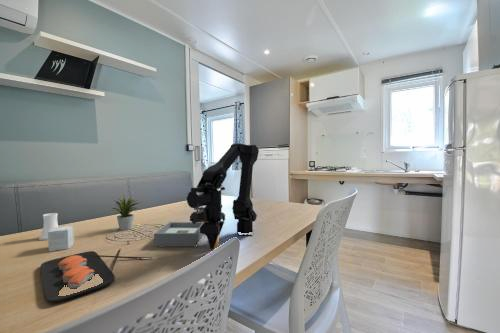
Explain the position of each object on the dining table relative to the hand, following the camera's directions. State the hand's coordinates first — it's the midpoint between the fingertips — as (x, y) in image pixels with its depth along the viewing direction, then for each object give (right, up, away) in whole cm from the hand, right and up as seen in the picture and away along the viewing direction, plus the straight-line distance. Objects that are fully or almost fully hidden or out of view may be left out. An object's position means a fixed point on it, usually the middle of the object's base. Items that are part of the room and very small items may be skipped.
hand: (214, 244), depth 87 cm
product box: (-58, -2, +2) cm, 58 cm away
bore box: (-15, -1, +9) cm, 18 cm away
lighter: (-10, -1, +26) cm, 28 cm away
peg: (0, -1, 0) cm, 1 cm away
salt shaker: (-72, -1, +13) cm, 73 cm away
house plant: (-45, -1, +23) cm, 51 cm away
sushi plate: (-31, -3, -14) cm, 34 cm away
